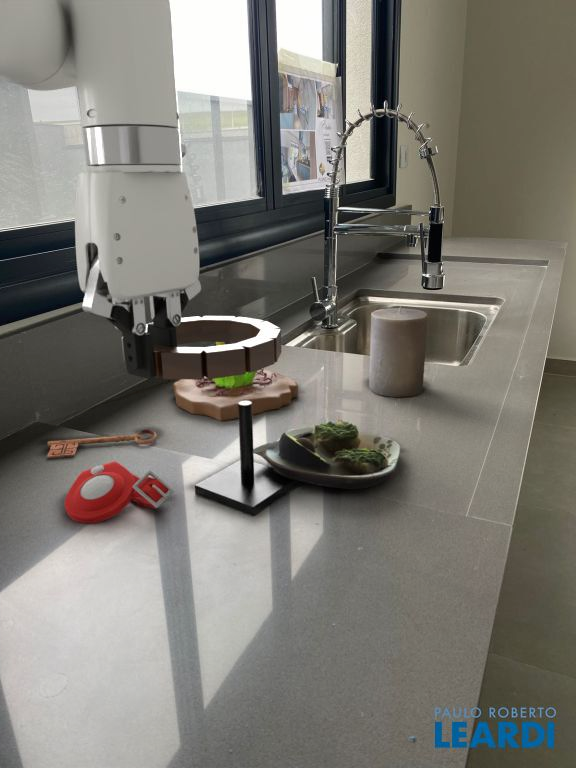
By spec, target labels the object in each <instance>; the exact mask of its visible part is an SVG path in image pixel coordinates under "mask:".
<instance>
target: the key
mask: <svg viewBox="0 0 576 768" xmlns="http://www.w3.org/2000/svg"><path fill="white" fill-rule="evenodd" d="M146 434H147V435H148V434H149V435H153V436H152V437H150V438H148V439H143V435H146ZM156 439H157V433H156V432H155V431H154V430H152V429H142V430H140V431H138V432H137V433H136V434H130V435H129V434H126V435H115V436H114V435H113V436H103V437H102V436H101V437H90V438H76V439H64V440H51V441H47V447H48V448H50V449H49V450H48V453H47V455H46V458H47V459H52V458H64V457H75V456H76V453H77V449H78V447H79V445H90V444H91V445H92V444H103V443H119V442H126V441H127V442H130V441H135V442H136V443H137V444H140V445H147V444H151V443H153V442H154V441H155V440H156Z"/></svg>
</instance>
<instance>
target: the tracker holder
mask: <svg viewBox="0 0 576 768" xmlns="http://www.w3.org/2000/svg"><path fill="white" fill-rule="evenodd" d="M150 476H151V477H150ZM174 491H175V490H174V489H173V488H172V487H171V486H170V485H169V484H168V483H166V482H165V481H164V480H162V478H160V477H159V476H158V475H156V474H155V473H154V471H152V470H148V471H147V472H145V474H144V475H142V476H141V477H138V476H136V475H135V474H132V473H131V471H129V470H128V468H126V467H124V465H122V464H120V463H119V462H117V461H111V462H108V463H104V464H101V465H99V464H98V465H96V466H94V467H91V468H89V469H86V470H83V471H81V472H80V473H79V475H78V476H77V478H76V479H75V480H74V481H73V483H72V485H71V487H70V488H69V490H68V491H67V495H66V497H65V499H64V509H65V512H66V514H67V515H68V517H69V518H70V519H71V520H73V521H74V522H77V523H79V524H80V523H81V524H95V523H100V522H103V521H106V520H109V519H111V518H112V517H114V516H116V515H117V514H119V513H120V512H121V511H123V510H124V509H125V508H126V507H127V506H128V505H129V504H130V502H131V501H134V502H135V503H137V504H139V505H141V506H143V507H147V508H150V509H158V508H160V506H162V505H163V504H164V503H165V502H166V501H167V500H168V499H169V497H171V495H173V494H174Z"/></svg>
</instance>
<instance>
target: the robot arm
mask: <svg viewBox="0 0 576 768" xmlns="http://www.w3.org/2000/svg"><path fill="white" fill-rule="evenodd" d="M174 37H175V36H174V21H173V8H172V1H171V0H0V79H2V80H4V81H6V82H8V83H12V84H14V85H16V86H18V87H22V88H24V89H27V90H32V91H39V92H40V91H41V92H42V91H43V92H45V91H46V92H48V91H55V90H62V89H68V88H73V87H74V88H75V87H77V89H78V99H79V100H78V101H79V109H80V117H81V125H82V133H83V134H82V135H83V136H82V137H83V144H84V153H85V162H86V171H87V172H79V173H78V175H77V183H76V190H75V204H74V205H75V206H74V236H75V237H74V238H75V240H74V241H75V256H76V257H75V258H76V268H77V278H78V283H79V288H80V290H81V291H82V293H84V296H83V300H82V304H81V308H82V311H83V312H84V313H87V314H90V315H94V316H97V317H102V318H105V319H106V320H107V321H108V322H110V323H111V324H112V325H113V326H114V328H115V330H116V331H117V332H121V337H122V336H123V345H124V355H125V362H124V364H125V363H126V364H125V367H126V372H127V374H129V375H131V376H134V377H138V378H142V379H147V380H149V379H153V378H155V366H154V355H153V351H154V345H153V343H155V344H160V345H165V346H169V347H178V345H177V337H176V327H175V326H179V325H180V323H181V319H182V318H183V317H182V314H183V312H184V310H185V309H186V307H187V305H188V302H190V301H191V300H192V299H194V298H195V297H196V296H197V295H198V294H200V293H201V291H202V285H201V282H200V279H199V276H200V249H199V237H198V228H197V220H196V214H195V208H194V202H193V196H192V192H191V188H190V184H189V180H188V175H187V172H183V163H182V162H183V158H184V157H185V155H186V153H187V149H186V145H185V143H184V142H182V141H181V133H180V131H181V130H180V117H179V102H178V84H177V70H176V67H177V66H176V53H175V52H176V51H175V38H174ZM108 295H110V297H111V302H110V301H109V300H108ZM145 297H148V298H149V299H148V300H149V309H150V319H151V321H152V322H149V323H150V324H149V323H147V318H146V306H145ZM146 324H147V325H148V327H147V333H145V332H146Z"/></svg>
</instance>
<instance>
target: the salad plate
mask: <svg viewBox="0 0 576 768" xmlns="http://www.w3.org/2000/svg"><path fill="white" fill-rule="evenodd" d="M357 427H358V426H357V425H355V424H353V423H352V422H350V423H349V422H348V421H343V419H338V420H337V422H332V421H331V420H329V421H327V423H320V424H315V425H314V426H306V427H297V428H292V429H288V430H287V431H286V432H283V433H282V434H281V436H280V437H279V438H278V439H277V440H276V441H273V442H268V443H264V444H262V445H260V446H257V447H254V448H253V453H254V455H258V456H260V457H261V458H262V459H264V460H265V462H267V463H268V464H269V465H270V467H272V468H273V469H274V470H275V471H276V472H277V473H279V474H280V475H282V476H284V477H287V478H289V479H293V480H297V481H299V482H303V483H306V484H312V485H317V486H322V487H327V488H336V489H347V490H348V489H349V490H350V489H353V490H354V489H355V490H356V489H357V490H358V489H369V488H372V487H376V486H378V485H379V484H381V483H383V482H384V481H386V480H387V479H389V478H390V477H391V476H393V475H394V474H395V472H396V471H397V464H398V461H399V458H400V455H401V446H400V444H399V443H398V442H397V441H395V440H393V439H391V438H389V437H386V436H383V435H379V434H372V433H371V434H370V433H360V432H359V430H358V428H357Z"/></svg>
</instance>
